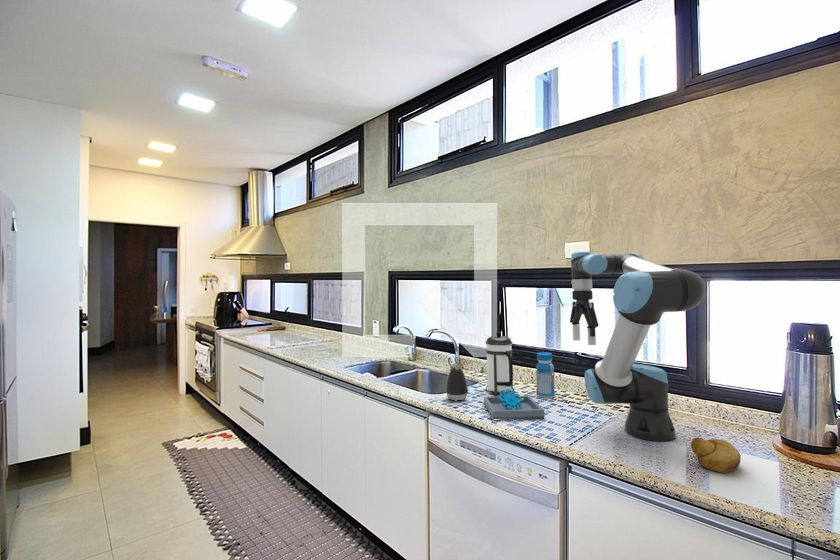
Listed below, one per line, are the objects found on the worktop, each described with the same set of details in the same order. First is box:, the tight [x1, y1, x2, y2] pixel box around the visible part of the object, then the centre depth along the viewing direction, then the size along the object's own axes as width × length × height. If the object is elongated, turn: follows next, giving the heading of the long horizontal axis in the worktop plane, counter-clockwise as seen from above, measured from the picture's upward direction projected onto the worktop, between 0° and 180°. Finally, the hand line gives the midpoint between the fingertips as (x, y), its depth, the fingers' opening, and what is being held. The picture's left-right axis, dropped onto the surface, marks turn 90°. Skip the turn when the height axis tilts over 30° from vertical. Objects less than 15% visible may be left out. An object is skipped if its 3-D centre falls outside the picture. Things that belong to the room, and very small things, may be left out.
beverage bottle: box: [535, 351, 556, 399], centre depth 183 cm, size 8×8×20 cm
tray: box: [483, 395, 545, 420], centre depth 162 cm, size 20×20×4 cm
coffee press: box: [484, 330, 516, 397], centre depth 190 cm, size 17×16×30 cm
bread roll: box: [690, 437, 742, 474], centre depth 110 cm, size 13×10×8 cm
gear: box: [498, 389, 524, 410], centre depth 163 cm, size 11×6×10 cm
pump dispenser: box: [445, 366, 469, 401], centre depth 181 cm, size 10×10×15 cm
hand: (583, 342), depth 158 cm, fingers open, 13 cm apart
